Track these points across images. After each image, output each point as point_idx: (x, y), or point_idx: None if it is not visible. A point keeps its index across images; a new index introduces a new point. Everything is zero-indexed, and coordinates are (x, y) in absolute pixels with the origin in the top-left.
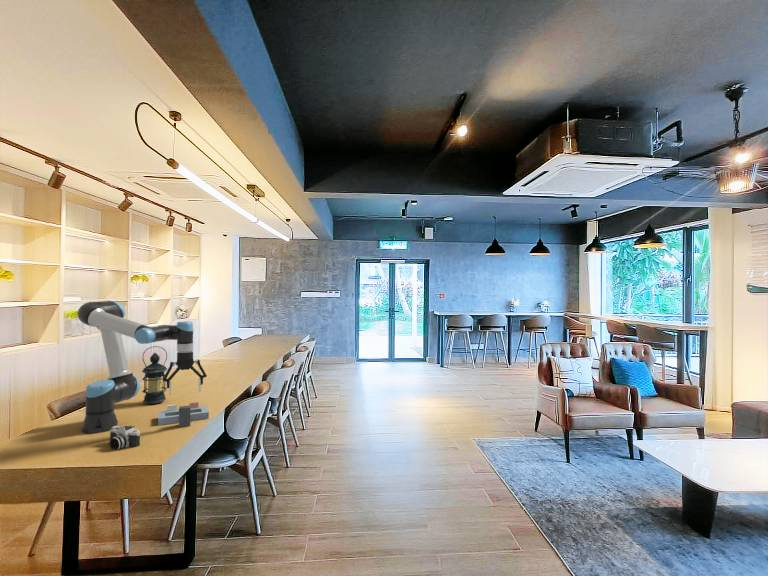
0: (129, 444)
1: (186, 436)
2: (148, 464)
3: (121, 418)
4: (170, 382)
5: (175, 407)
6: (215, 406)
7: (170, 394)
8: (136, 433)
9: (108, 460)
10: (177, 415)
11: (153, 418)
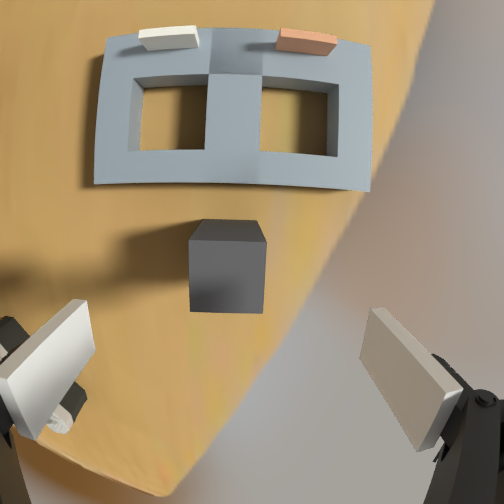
0: None
1: (227, 391)
2: (144, 490)
3: (12, 26)
4: (31, 434)
5: (190, 41)
6: (399, 10)
7: (88, 352)
8: (64, 432)
9: (50, 434)
10: (193, 164)
11: (100, 52)
